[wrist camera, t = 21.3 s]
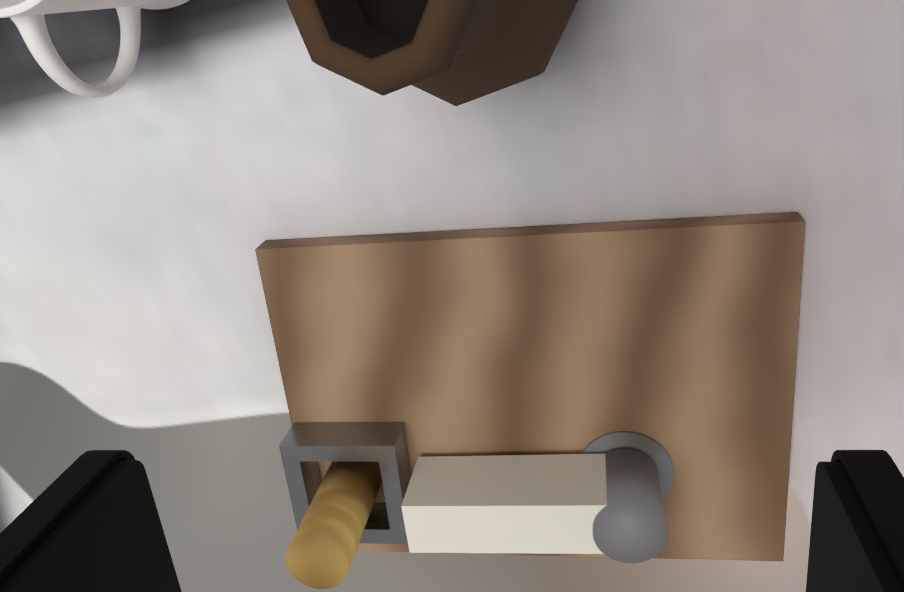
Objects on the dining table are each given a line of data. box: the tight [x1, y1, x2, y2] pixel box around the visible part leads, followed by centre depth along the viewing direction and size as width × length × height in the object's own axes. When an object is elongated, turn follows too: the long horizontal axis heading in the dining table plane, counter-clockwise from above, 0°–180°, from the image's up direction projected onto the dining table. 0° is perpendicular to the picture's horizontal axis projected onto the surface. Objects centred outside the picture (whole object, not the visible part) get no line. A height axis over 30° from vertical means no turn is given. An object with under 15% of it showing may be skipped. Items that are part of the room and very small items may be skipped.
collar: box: [279, 421, 412, 544], centre depth 45 cm, size 7×7×2 cm
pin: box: [285, 461, 382, 589], centre depth 43 cm, size 3×3×8 cm
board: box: [255, 212, 806, 561], centre depth 43 cm, size 28×20×4 cm
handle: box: [401, 449, 667, 563], centre depth 42 cm, size 13×4×5 cm, turn 97°
